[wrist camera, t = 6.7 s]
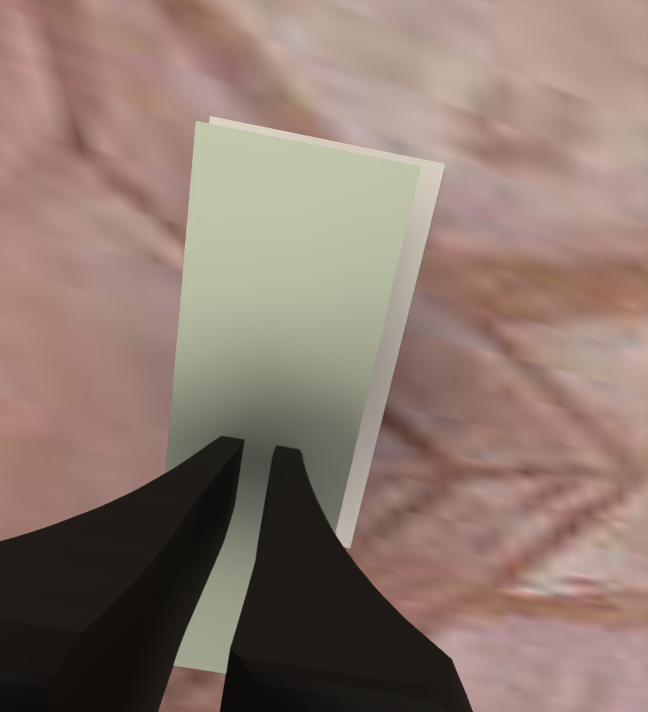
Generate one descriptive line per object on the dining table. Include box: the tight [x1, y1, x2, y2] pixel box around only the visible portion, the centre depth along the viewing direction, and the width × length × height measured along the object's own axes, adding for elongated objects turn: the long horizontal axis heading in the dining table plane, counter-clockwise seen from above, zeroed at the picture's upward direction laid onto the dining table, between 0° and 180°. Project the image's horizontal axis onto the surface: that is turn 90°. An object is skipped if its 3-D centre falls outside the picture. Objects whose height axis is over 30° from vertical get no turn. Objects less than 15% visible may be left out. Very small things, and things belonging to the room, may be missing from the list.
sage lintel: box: [166, 121, 421, 674], centre depth 14 cm, size 16×5×5 cm, turn 169°
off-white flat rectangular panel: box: [209, 116, 445, 548], centre depth 20 cm, size 20×10×1 cm, turn 169°
